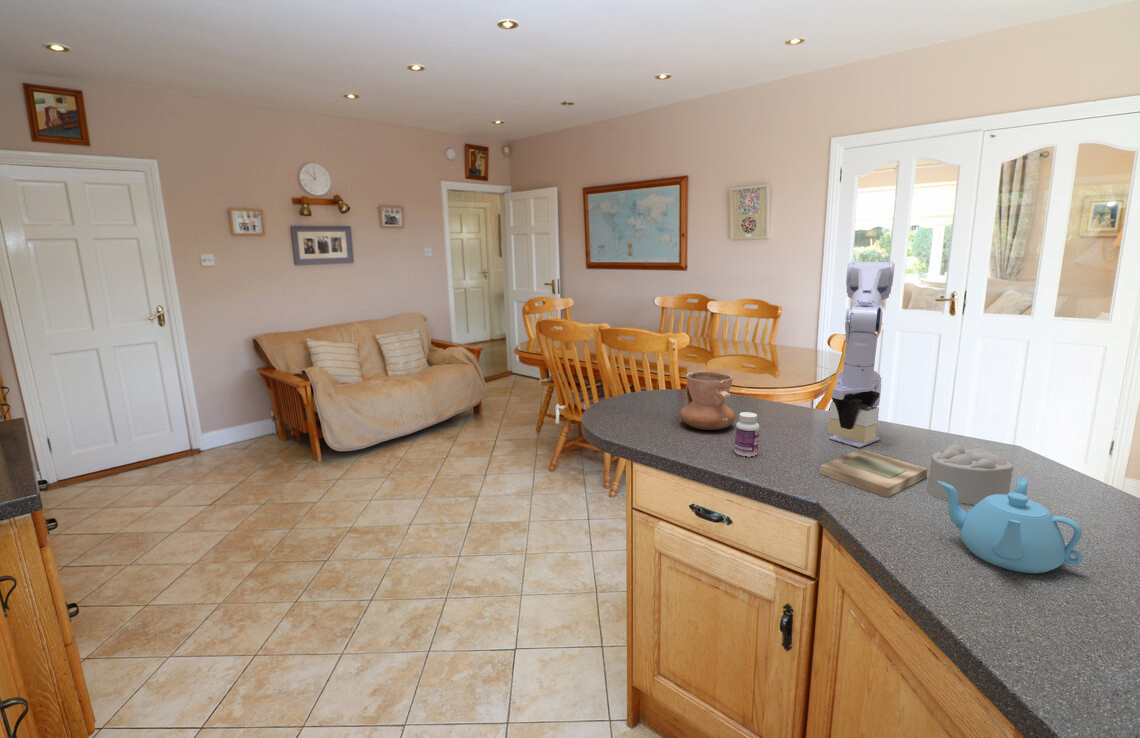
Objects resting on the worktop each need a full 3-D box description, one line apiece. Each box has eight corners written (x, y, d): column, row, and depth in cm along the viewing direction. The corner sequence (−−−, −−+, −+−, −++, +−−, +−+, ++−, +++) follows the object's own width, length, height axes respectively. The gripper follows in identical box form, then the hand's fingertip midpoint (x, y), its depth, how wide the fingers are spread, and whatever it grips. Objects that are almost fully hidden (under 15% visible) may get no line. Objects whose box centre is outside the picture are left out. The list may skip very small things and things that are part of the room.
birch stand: (860, 457, 126) (861, 448, 126) (926, 477, 115) (927, 467, 114) (820, 473, 117) (820, 464, 117) (886, 497, 106) (888, 487, 106)
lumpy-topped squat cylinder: (1016, 503, 103) (1024, 460, 101) (951, 507, 102) (958, 464, 100) (972, 480, 113) (978, 441, 111) (913, 483, 112) (918, 443, 110)
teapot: (1097, 581, 79) (1112, 517, 77) (997, 585, 79) (1009, 520, 77) (1013, 530, 94) (1024, 474, 91) (928, 533, 93) (936, 477, 91)
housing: (875, 438, 116) (879, 406, 114) (864, 443, 114) (867, 409, 112) (839, 428, 123) (842, 397, 121) (828, 432, 120) (830, 401, 119)
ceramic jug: (749, 431, 144) (751, 379, 141) (701, 438, 139) (703, 384, 137) (709, 414, 161) (711, 366, 158) (666, 419, 156) (667, 370, 153)
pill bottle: (759, 458, 127) (761, 418, 124) (735, 456, 128) (737, 417, 125) (756, 449, 132) (758, 411, 130) (733, 448, 133) (735, 410, 131)
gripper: (859, 356, 122) (853, 415, 125) (820, 365, 114) (815, 427, 117) (892, 362, 116) (884, 423, 119) (853, 371, 108) (847, 436, 111)
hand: (852, 425), depth 118 cm, fingers closed on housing, 4 cm apart
